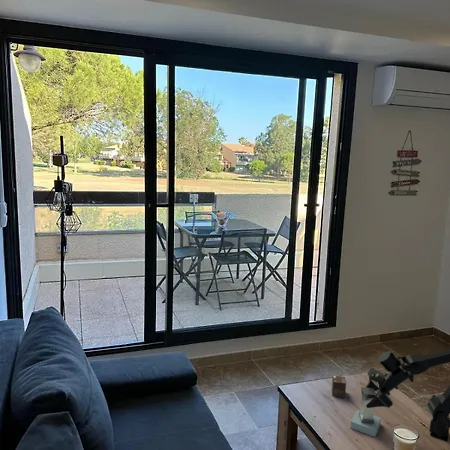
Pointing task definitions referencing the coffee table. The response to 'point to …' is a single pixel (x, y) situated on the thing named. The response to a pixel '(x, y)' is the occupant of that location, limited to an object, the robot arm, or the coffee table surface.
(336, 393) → the box
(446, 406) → the robot arm
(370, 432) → the stand
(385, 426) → the coffee table surface
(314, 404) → the coffee table surface
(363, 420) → the housing
